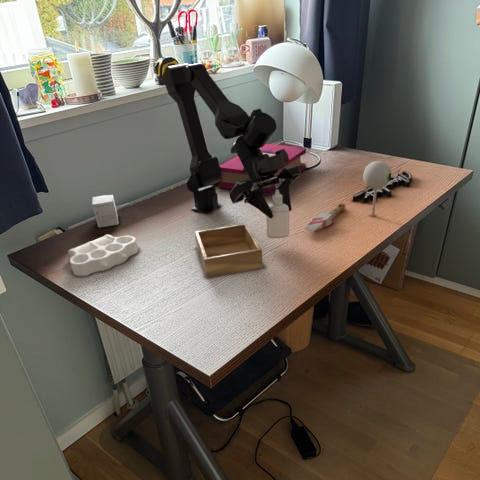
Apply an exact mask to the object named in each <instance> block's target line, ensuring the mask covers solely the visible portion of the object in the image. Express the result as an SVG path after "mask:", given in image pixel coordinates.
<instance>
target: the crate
mask: <svg viewBox="0 0 480 480" xmlns="http://www.w3.org/2000/svg"><path fill="white" fill-rule="evenodd" d="M194 235H195V243H196V249H197V252H198V256H199V259H200V262H201V264H202V267H203V270H204V273H205V277H206V278H212V277H218V276H223V275H229V274H234V273H241V272H245V271H252V270H259V269H262V268H264V267H263V266H264V265H263V249H262V247H261V246H260V244H259V242H258V240H257V239H256V237H255V235H254V233H253V232H252V230H251V229H250V227H249V225H248V223H246V222H244V223H240V224H233V225H227V226H220V227H213V228H207V229H202V230H196V231H194Z"/></svg>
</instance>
